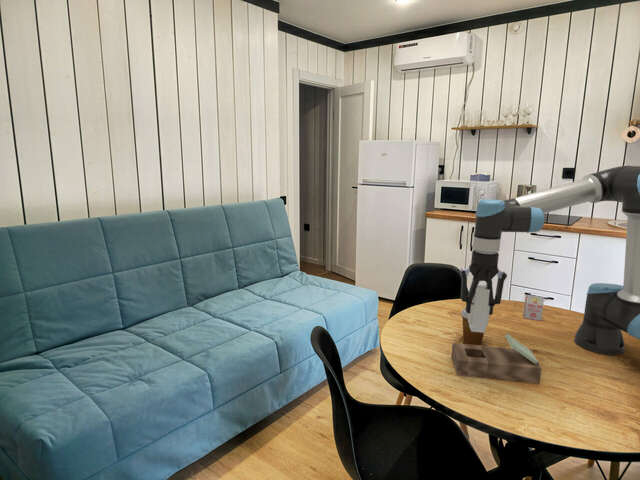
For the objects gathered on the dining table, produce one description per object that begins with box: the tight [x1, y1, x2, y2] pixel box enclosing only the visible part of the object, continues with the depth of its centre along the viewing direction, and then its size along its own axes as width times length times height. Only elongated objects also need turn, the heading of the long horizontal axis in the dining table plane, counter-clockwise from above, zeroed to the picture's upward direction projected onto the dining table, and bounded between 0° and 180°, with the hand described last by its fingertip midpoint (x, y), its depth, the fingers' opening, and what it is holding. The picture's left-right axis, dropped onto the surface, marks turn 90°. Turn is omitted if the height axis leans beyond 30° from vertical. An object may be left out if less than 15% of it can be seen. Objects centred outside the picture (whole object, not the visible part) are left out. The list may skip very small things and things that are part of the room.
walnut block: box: [451, 342, 543, 385], centre depth 132 cm, size 24×12×5 cm, turn 80°
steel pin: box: [469, 284, 490, 334], centre depth 129 cm, size 4×4×14 cm
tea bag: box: [522, 294, 545, 322], centre depth 173 cm, size 4×7×10 cm, turn 66°
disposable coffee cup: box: [460, 307, 485, 346], centre depth 150 cm, size 10×10×12 cm
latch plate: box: [504, 333, 540, 365], centre depth 129 cm, size 10×8×1 cm
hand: (477, 323), depth 130 cm, fingers closed on steel pin, 4 cm apart
